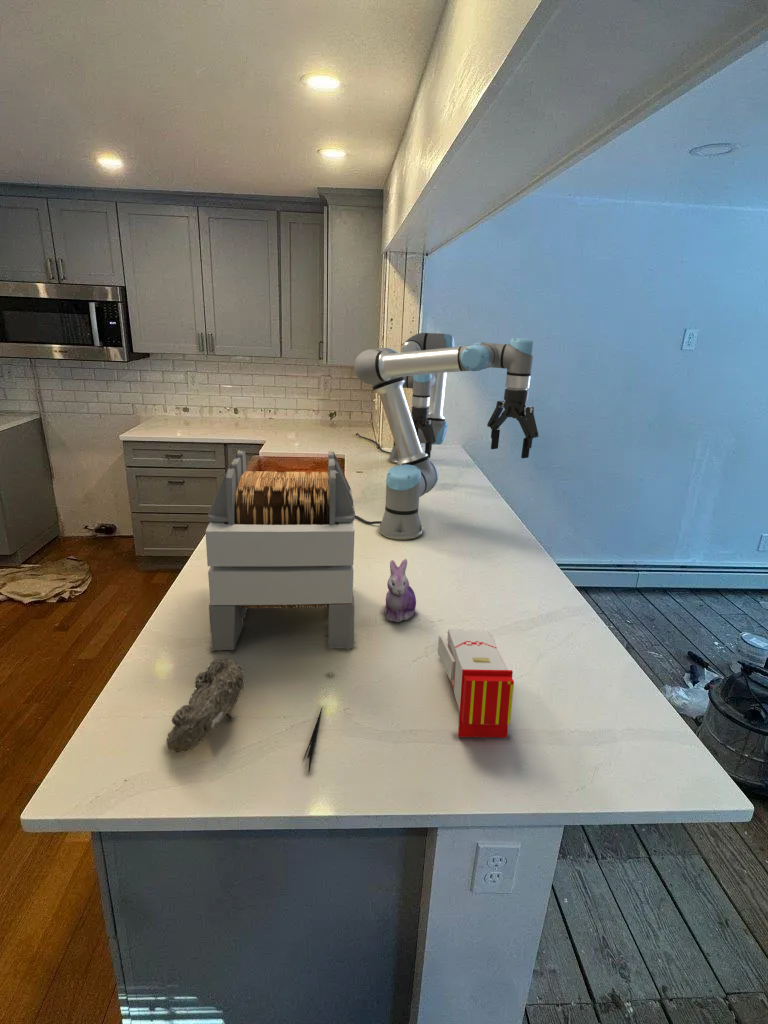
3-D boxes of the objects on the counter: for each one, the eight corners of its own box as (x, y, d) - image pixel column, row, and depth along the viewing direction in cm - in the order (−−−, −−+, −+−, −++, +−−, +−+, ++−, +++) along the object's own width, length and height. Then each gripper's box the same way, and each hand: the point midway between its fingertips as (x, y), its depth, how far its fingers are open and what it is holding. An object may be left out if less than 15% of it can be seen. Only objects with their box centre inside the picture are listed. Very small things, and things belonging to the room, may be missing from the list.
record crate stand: (231, 583, 159) (223, 441, 145) (347, 582, 163) (350, 443, 149) (209, 653, 127) (196, 479, 114) (354, 649, 131) (359, 481, 117)
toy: (488, 613, 130) (523, 677, 101) (484, 667, 133) (517, 744, 104) (435, 612, 130) (455, 676, 101) (432, 666, 133) (451, 743, 103)
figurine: (392, 627, 141) (395, 572, 136) (374, 608, 149) (376, 556, 144) (425, 619, 145) (429, 566, 140) (405, 601, 154) (408, 550, 149)
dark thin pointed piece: (331, 679, 122) (336, 673, 122) (307, 777, 96) (313, 769, 95) (324, 675, 122) (329, 669, 121) (298, 772, 95) (304, 764, 95)
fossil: (192, 660, 117) (244, 628, 112) (224, 691, 120) (276, 661, 115) (142, 746, 98) (202, 712, 93) (182, 779, 101) (242, 748, 96)
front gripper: (555, 393, 175) (546, 460, 182) (496, 383, 194) (490, 444, 201) (539, 394, 170) (530, 463, 178) (480, 384, 189) (474, 446, 197)
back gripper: (446, 410, 237) (442, 459, 244) (409, 401, 256) (407, 447, 263) (432, 411, 233) (429, 461, 240) (396, 402, 252) (394, 448, 259)
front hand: (509, 453), depth 189 cm, fingers open, 13 cm apart
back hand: (417, 454), depth 252 cm, fingers open, 13 cm apart
